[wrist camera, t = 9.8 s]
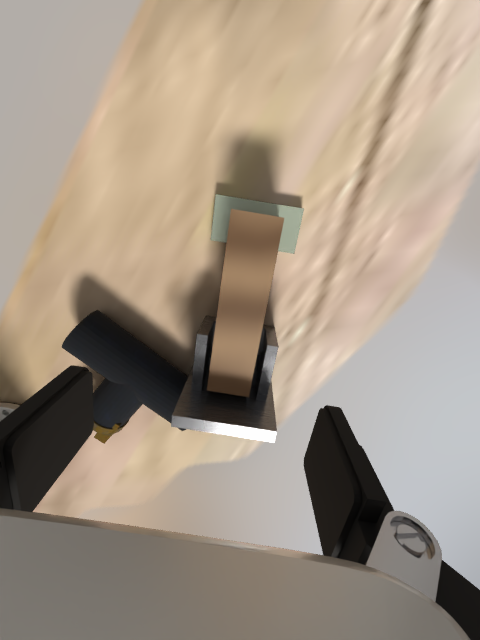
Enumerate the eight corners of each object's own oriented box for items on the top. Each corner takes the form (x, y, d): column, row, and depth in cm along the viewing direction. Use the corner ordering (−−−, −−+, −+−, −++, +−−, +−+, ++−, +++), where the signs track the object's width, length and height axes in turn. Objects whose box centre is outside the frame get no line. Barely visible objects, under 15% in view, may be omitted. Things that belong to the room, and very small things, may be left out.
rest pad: (292, 252, 27) (294, 253, 26) (212, 239, 27) (210, 240, 26) (302, 209, 25) (303, 208, 24) (217, 195, 25) (215, 194, 24)
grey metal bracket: (268, 384, 32) (274, 442, 23) (193, 372, 32) (171, 426, 23) (281, 327, 29) (292, 371, 21) (199, 314, 29) (177, 352, 21)
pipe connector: (142, 474, 31) (23, 398, 28) (157, 439, 36) (57, 372, 33) (204, 412, 28) (78, 320, 25) (211, 383, 33) (106, 304, 30)
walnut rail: (249, 369, 30) (248, 397, 26) (214, 364, 30) (206, 390, 26) (278, 218, 25) (284, 217, 20) (235, 211, 25) (231, 208, 20)
